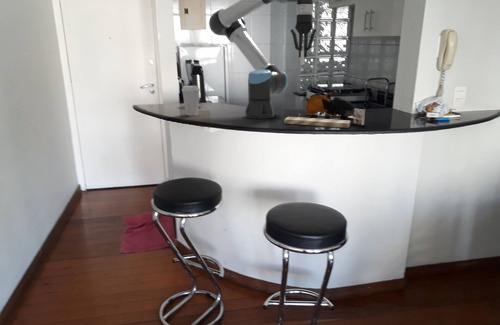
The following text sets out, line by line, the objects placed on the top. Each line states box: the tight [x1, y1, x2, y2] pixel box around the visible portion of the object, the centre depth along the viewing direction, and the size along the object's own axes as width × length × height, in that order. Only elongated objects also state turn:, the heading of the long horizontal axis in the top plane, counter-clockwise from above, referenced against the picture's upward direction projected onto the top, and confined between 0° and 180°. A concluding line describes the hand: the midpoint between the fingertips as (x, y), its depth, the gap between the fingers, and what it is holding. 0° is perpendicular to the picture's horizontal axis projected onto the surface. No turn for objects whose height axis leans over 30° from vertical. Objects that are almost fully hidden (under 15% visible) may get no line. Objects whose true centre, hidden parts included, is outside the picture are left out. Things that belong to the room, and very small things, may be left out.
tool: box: [305, 92, 354, 118], centre depth 201 cm, size 8×23×15 cm, turn 73°
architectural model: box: [347, 107, 366, 126], centre depth 181 cm, size 3×7×7 cm, turn 42°
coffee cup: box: [181, 85, 201, 117], centre depth 205 cm, size 10×10×15 cm
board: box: [283, 116, 351, 129], centre depth 182 cm, size 30×7×2 cm, turn 70°
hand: (302, 64), depth 194 cm, fingers closed
